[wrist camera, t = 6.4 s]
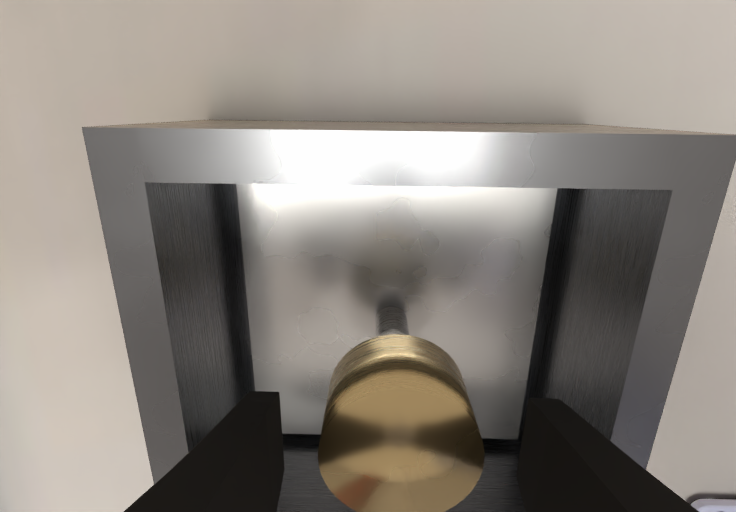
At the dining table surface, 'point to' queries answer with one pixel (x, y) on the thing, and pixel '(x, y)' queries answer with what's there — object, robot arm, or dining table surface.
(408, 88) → the dining table surface
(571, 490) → the robot arm
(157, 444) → the press housing
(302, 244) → the plunger
